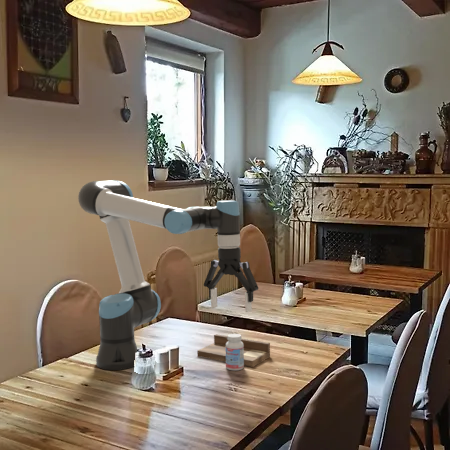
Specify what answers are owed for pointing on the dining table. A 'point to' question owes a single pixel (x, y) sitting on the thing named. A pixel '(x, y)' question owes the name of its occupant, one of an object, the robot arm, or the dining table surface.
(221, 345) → the wooden stand
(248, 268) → the robot arm
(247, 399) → the dining table surface
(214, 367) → the dining table surface
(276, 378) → the dining table surface
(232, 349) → the pill bottle
